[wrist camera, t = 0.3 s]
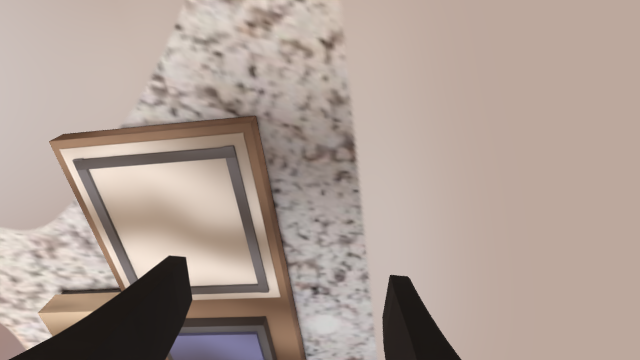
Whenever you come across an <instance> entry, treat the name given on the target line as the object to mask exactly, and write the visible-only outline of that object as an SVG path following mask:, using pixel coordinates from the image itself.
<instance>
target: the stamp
mask: <svg viewBox="0 0 640 360" xmlns="http://www.w3.org/2000/svg"><path fill="white" fill-rule="evenodd" d="M121 292H122V291H121V289H114V290H87V291H64V292H63V293H62V294H61V295H55V296H54V297H53V298H52V299H51V300H50V301H49V302H48V303H47V304H46V305H45V306H44V307H43V308H42V309H41V310H40V311H39V312H38V314H39V316H40V317H41V319H42V320H43V322H44V323H45V325H46V326H47V328H48V330H49V331H50V333H51V334H52V336H55V335H56V334H58V333H60V332H61V331H63V330H65V329H67V328H68V327H70V326H72V325H73V324H75V323H76V322H78V321H80V320H81V319H83V318H84V317H86V316H87V315H89V314H91V313H92V312H93V311H95V310H96V309H98V308H99V307H101V306H102V305H103V304H105V303H106V302H108V301H109V300H111V299H112V298H114V297H115V296H116V295H118V294H119V293H121Z"/></svg>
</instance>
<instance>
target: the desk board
mask: <svg viewBox="0 0 640 360" xmlns="http://www.w3.org/2000/svg"><path fill="white" fill-rule="evenodd" d="M49 143H50V145H51V147H52V149H53V151H54V153H55V155H56V157H57V159H58V161H59V163H60V165H61V167H62V169H63V172H64V174H65V176H66V178H67V180H68V182H69V184H70V186H71V188H72V190H73V192H74V194H75V196H76V198H77V200H78V202H79V204H80V207H81V209H82V211H83V213H84V215H85V217H86V219H87V221H88V223H89V225H90V227H91V229H92V231H93V233H94V235H95V237H96V239H97V241H98V244H99V246H100V248H101V250H102V252H103V254H104V256H105V258H106V260H107V262H108V264H109V266H110V268H111V270H112V272H113V274H114V276H115V278H116V281H117V283H118V285H119V287H120V289H121V291H123V290H125V289H126V288H127V287H129V286H130V285H131V284H133V283H134V282H135V281H136V280H138V279H139V278H140V277H142V276H143V275H144V274H146V273H147V272H148V271H149V270H151V269H152V268H153V267H155V266H156V265H157V264H158V263H160V262H161V261H162V260H164V259H165V258H166V257H168V256H169V255H171V256H182V257H186V260H187V267H188V273H189V280H190V286H191V293H192V299H193V300H192V302H191V305H190V308H189V311H188V314H187V316H186V319H185V321H184V324H183V326H182V328H181V330H180V332H179V334H178V336H177V338H176V340H175V342H174V344H173V346H172V348H171V350H170V352H169V354H168V355H167V357H166V359H165V360H306V358H305V353H304V348H303V343H302V339H301V334H300V329H299V324H298V319H297V314H296V309H295V304H294V300H293V295H292V290H291V285H290V280H289V275H288V270H287V266H286V261H285V256H284V251H283V246H282V241H281V236H280V232H279V227H278V222H277V217H276V212H275V207H274V202H273V197H272V193H271V188H270V183H269V178H268V173H267V168H266V163H265V159H264V154H263V149H262V144H261V139H260V134H259V129H258V125H257V120H256V116H249V117H239V118H228V119H217V120H207V121H196V122H186V123H175V124H165V125H154V126H144V127H133V128H123V129H113V130H102V131H92V132H81V133H70V134H63V135H61V136H59V137H57V138H55V139H53V140H51V141H49Z"/></svg>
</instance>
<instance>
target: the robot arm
mask: <svg viewBox="0 0 640 360" xmlns="http://www.w3.org/2000/svg"><path fill="white" fill-rule="evenodd" d="M192 300H193V299H192V293H191V286H190V280H189V273H188V267H187V260H186V257H182V256H171V255H169V256H168V257H166V258H165V259H164V260H162V261H161V262H160V263H158V264H157V265H156V266H155V267H153V268H152V269H151V270H149V271H148V272H147V273H146V274H144V275H143V276H142V277H140V278H139V279H138V280H136V281H135V282H134V283H133V284H131V285H130V286H129V287H127V288H126V289H125V290H123V291H122V292H121V293H119V294H118V295H116V296H115V297H114V298H112V299H111V300H109V301H108V302H106V303H105V304H103V305H102V306H101V307H99V308H98V309H96V310H95V311H93V312H92V313H91V314H89V315H87V316H86V317H84V318H83V319H81V320H80V321H78V322H76V323H75V324H73V325H72V326H70V327H68V328H67V329H65V330H63V331H61V332H60V333H58V334H56V335H55V336H53V337H51V338H49V339H47V340H46V341H44V342H42V343H40V344H38V345H36V346H34V347H32V348H30V349H29V350H27V351H25V352H23V353H21V354H19V355H17V356H15V357H13V358H11V359H9V360H165V359H166V357H167V355H168V354H169V352H170V350H171V348H172V346H173V344H174V342H175V340H176V338H177V336H178V334H179V332H180V330H181V328H182V326H183V324H184V321H185V319H186V316H187V314H188V311H189V308H190V305H191V302H192ZM382 318H383V343H384V352H385V359H386V360H461V359H460V357H459V356H458V355H457V353H456V352H455V351H454V349H453V348H452V346H451V345H450V344H449V342H448V341H447V340H446V338H445V337H444V335H443V334H442V332H441V331H440V330H439V328H438V326H437V325H436V323H435V322H434V320H433V319H432V317H431V315H430V314H429V312H428V311H427V309H426V307H425V305H424V304H423V302H422V301H421V299H420V297H419V295H418V293H417V291H416V290H415V288H414V286H413V284H412V282H411V280H410V278H409V277H407V276H397V275H390V277H389V283H388V289H387V295H386V300H385V306H384V312H383V317H382Z"/></svg>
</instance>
